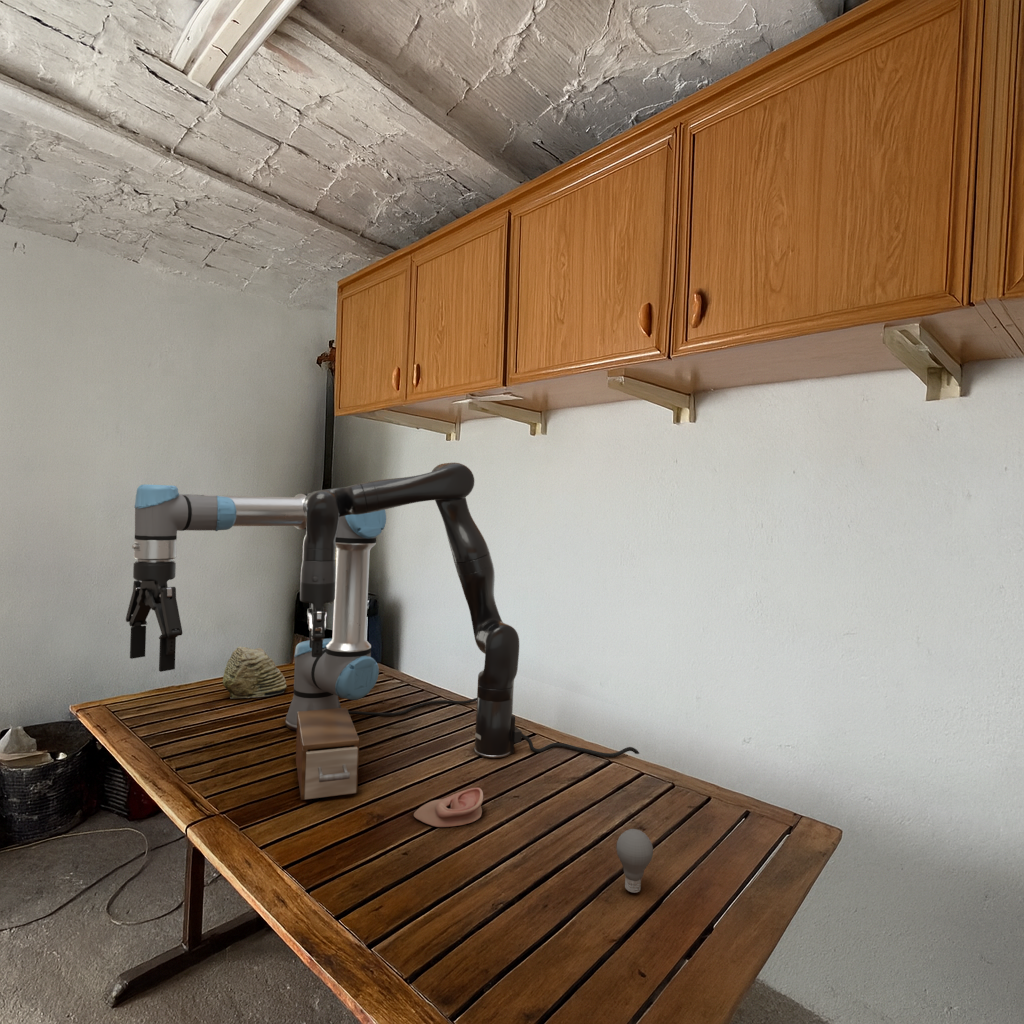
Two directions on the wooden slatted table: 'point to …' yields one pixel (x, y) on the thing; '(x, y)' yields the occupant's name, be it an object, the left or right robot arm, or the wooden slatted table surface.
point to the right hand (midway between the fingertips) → (315, 652)
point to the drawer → (330, 771)
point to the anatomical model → (452, 809)
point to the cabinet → (322, 736)
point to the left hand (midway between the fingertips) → (151, 663)
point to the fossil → (252, 674)
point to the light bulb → (634, 857)
